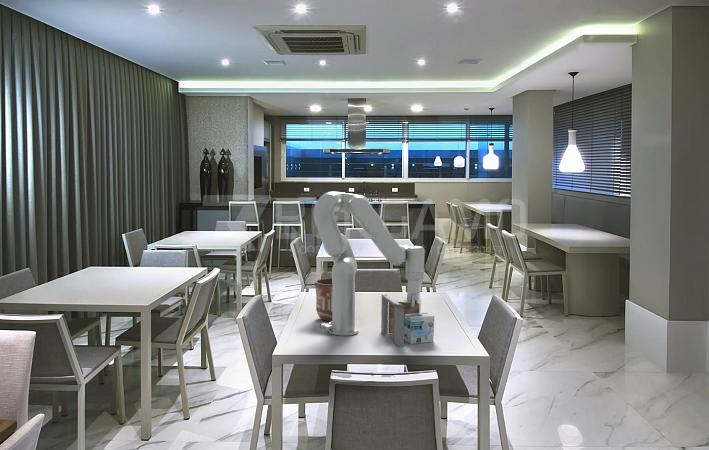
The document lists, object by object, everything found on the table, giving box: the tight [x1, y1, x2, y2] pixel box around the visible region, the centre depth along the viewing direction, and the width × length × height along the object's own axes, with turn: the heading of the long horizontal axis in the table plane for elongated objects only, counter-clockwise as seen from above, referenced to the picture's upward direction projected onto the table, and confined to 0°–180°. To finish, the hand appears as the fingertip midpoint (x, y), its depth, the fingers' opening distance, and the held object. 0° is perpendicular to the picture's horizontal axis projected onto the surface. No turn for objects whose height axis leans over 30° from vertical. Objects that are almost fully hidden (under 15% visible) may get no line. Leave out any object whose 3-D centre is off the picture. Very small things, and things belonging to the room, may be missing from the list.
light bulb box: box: [404, 311, 435, 345], centre depth 247 cm, size 11×7×11 cm, turn 111°
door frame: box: [380, 294, 404, 348], centre depth 249 cm, size 2×24×16 cm, turn 14°
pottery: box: [314, 277, 333, 323], centre depth 281 cm, size 18×18×18 cm
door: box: [387, 300, 420, 335], centre depth 254 cm, size 14×1×14 cm, turn 60°
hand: (413, 318), depth 256 cm, fingers closed
